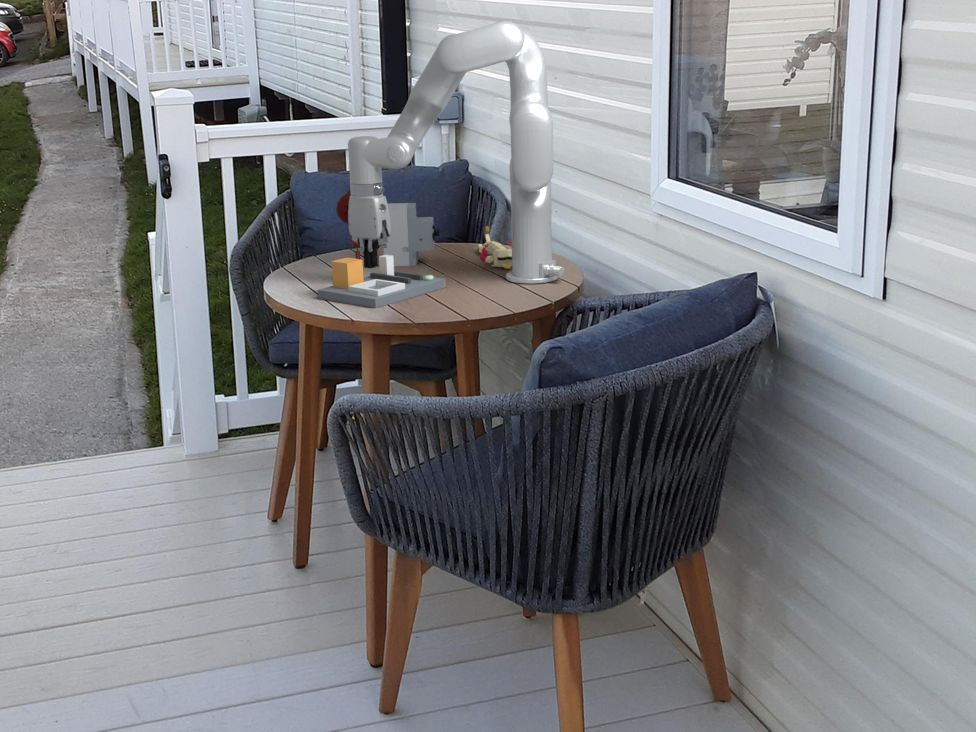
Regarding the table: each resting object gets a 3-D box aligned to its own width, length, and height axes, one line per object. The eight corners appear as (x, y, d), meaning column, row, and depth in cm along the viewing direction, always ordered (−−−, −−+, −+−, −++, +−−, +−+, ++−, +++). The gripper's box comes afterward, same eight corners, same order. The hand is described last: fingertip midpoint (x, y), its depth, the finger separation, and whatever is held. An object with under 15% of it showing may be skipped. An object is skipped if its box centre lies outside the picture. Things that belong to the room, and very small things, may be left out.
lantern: (371, 271, 293) (364, 151, 285) (335, 271, 295) (327, 151, 286) (381, 264, 302) (375, 146, 294) (346, 263, 304) (339, 147, 295)
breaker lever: (394, 276, 277) (393, 255, 275) (387, 278, 275) (386, 257, 273) (386, 275, 278) (385, 254, 277) (379, 277, 276) (378, 256, 275)
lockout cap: (363, 285, 269) (362, 259, 267) (348, 289, 265) (347, 263, 264) (348, 282, 272) (346, 257, 270) (332, 286, 268) (331, 261, 267)
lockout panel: (445, 287, 274) (445, 273, 273) (375, 308, 256) (374, 293, 255) (389, 278, 285) (388, 266, 284) (317, 298, 266) (317, 284, 266)
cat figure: (468, 259, 313) (489, 270, 289) (467, 226, 311) (487, 234, 287) (504, 256, 315) (528, 267, 291) (503, 224, 313) (526, 232, 289)
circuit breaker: (439, 265, 299) (437, 206, 295) (384, 266, 299) (381, 208, 295) (441, 259, 306) (439, 202, 302) (387, 260, 307) (384, 203, 302)
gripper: (401, 190, 272) (405, 267, 277) (354, 186, 281) (359, 261, 286) (379, 194, 266) (383, 273, 272) (332, 190, 275) (337, 266, 281)
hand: (371, 267), depth 279 cm, fingers closed
